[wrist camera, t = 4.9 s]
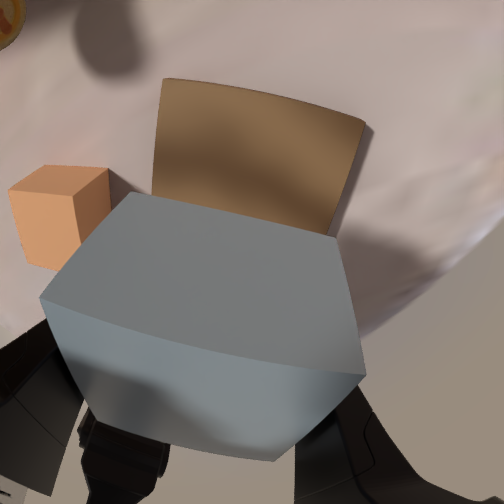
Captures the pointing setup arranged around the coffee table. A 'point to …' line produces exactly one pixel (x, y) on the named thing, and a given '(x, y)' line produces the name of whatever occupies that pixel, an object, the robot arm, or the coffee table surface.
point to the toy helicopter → (11, 20)
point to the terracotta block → (59, 211)
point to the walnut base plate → (252, 153)
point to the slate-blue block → (206, 327)
